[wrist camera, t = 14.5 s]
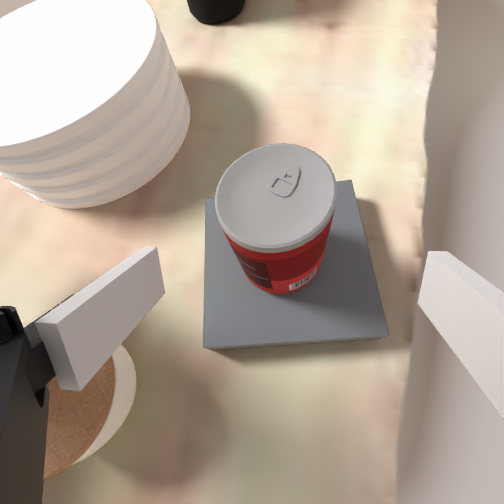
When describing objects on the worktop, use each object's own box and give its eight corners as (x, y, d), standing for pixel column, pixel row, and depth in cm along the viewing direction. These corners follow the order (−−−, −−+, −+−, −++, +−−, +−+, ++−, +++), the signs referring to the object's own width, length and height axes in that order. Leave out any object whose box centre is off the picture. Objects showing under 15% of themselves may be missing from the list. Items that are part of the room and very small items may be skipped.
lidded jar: (97, 316, 31) (22, 295, 22) (176, 362, 28) (123, 358, 19) (32, 416, 28) (-86, 436, 19) (112, 480, 24) (15, 538, 16)
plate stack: (30, 96, 49) (-40, 22, 39) (181, 53, 48) (150, -35, 38) (4, 231, 38) (-107, 177, 27) (201, 179, 37) (165, 102, 26)
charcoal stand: (212, 350, 28) (203, 347, 25) (212, 212, 34) (205, 198, 31) (379, 338, 26) (388, 334, 23) (346, 195, 32) (351, 179, 30)
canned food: (329, 230, 28) (349, 149, 18) (310, 306, 25) (322, 263, 15) (256, 215, 30) (237, 134, 20) (232, 285, 27) (194, 233, 17)
